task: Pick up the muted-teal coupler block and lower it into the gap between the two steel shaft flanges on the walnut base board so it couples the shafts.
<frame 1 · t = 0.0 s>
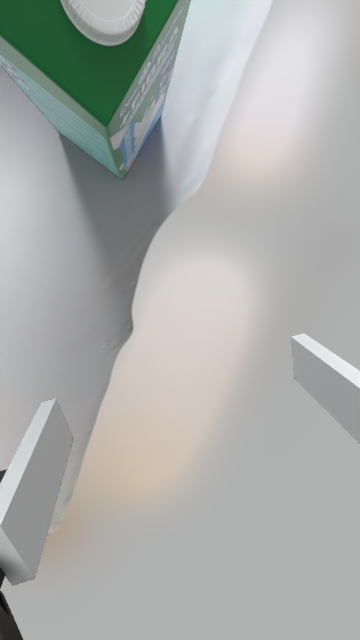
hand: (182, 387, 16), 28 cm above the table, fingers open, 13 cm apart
milk carton: (110, 123, 35), on the table
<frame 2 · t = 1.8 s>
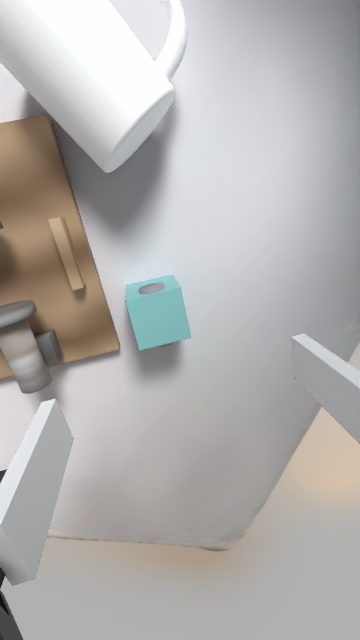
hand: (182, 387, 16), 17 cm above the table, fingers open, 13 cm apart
mug: (113, 80, 24), on the table
shaft board: (9, 265, 28), on the table
coupler: (154, 301, 31), on the table
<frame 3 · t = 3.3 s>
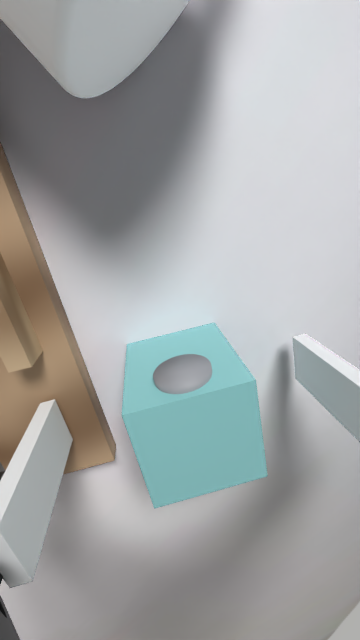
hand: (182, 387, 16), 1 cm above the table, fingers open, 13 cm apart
coupler: (179, 370, 17), on the table
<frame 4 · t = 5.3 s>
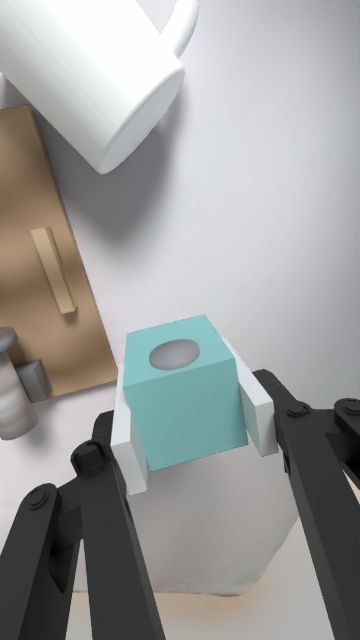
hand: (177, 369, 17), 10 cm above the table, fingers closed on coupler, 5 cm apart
mug: (108, 65, 20), on the table
coupler: (174, 358, 19), point 9 cm above the table, touching gripper
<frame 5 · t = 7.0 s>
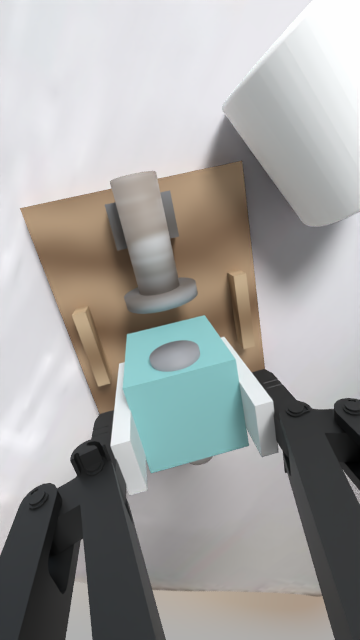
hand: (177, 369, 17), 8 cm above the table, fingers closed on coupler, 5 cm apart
mug: (307, 119, 22), on the table
shaft board: (166, 319, 25), on the table
coupler: (174, 359, 19), point 7 cm above the table, touching gripper
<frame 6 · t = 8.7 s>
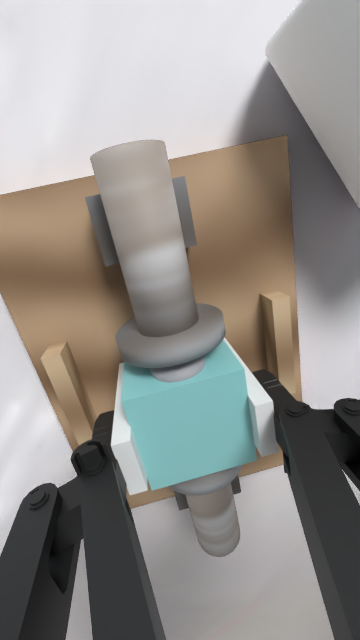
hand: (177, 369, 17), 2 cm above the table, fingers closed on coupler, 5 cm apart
shaft board: (174, 354, 19), on the table
coupler: (176, 364, 18), point 1 cm above the table, touching gripper, shaft board
when the fingers open (2 cm above the table, at t = 9.8 s): coupler stays where it is, resting on shaft board.
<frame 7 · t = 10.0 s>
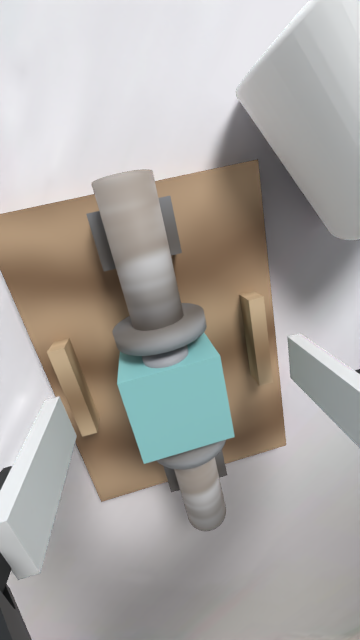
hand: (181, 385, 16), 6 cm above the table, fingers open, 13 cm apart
mug: (334, 110, 18), on the table
shaft board: (165, 350, 21), on the table
coupler: (166, 358, 20), point 1 cm above the table, touching shaft board
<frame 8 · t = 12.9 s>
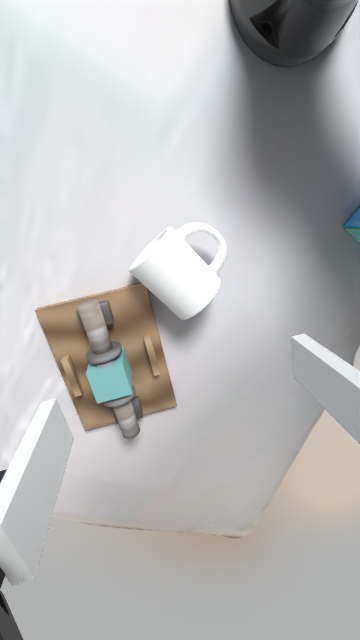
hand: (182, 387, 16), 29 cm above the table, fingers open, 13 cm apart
mug: (181, 259, 42), on the table
shaft board: (113, 359, 46), on the table
coupler: (112, 363, 44), point 1 cm above the table, touching shaft board
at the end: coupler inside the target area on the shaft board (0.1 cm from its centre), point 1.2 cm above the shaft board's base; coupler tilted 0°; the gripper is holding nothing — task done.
